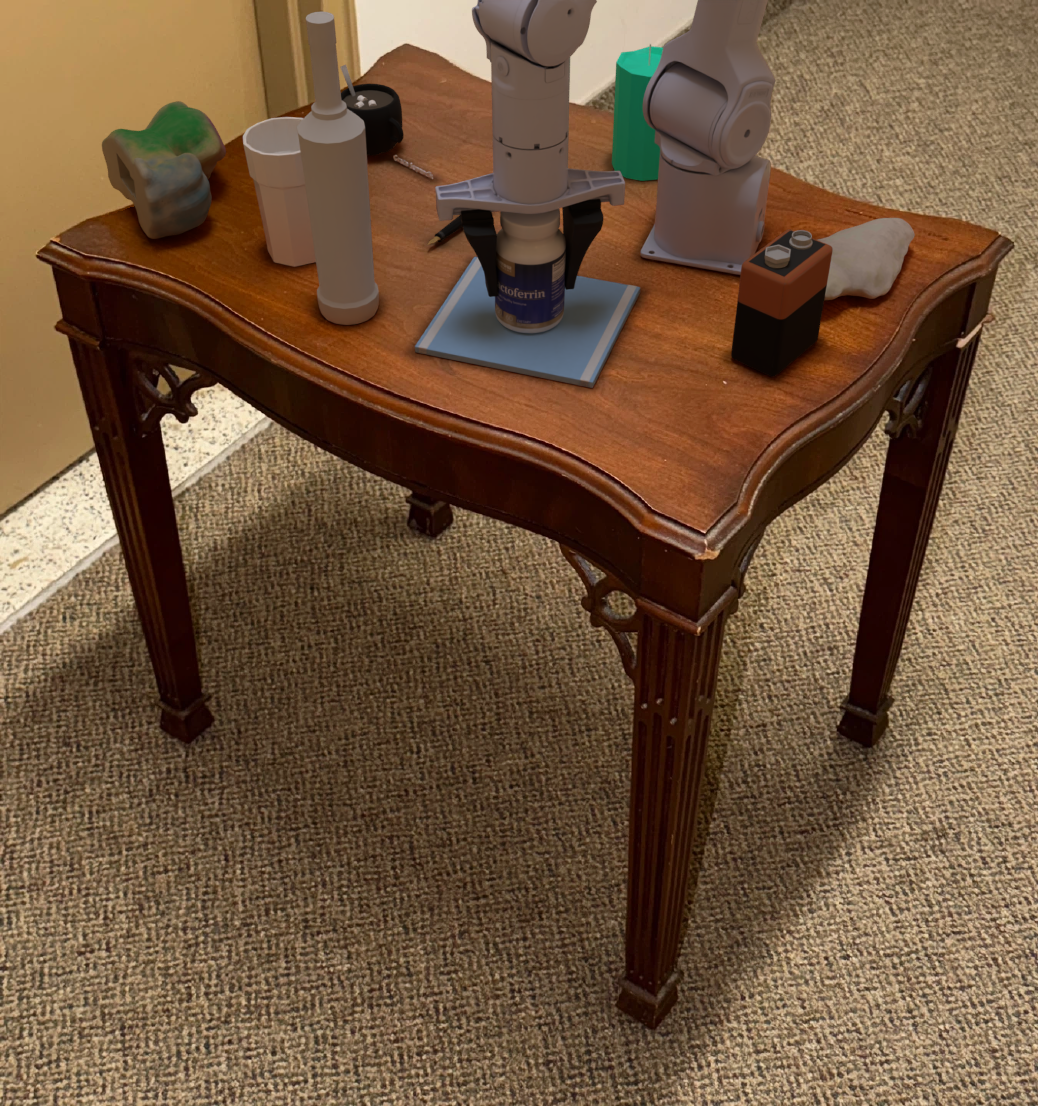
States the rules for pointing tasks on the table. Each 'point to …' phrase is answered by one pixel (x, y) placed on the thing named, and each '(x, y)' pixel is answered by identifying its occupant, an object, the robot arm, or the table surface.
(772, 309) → the battery
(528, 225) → the pill bottle
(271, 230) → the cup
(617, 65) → the candle
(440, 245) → the table surface
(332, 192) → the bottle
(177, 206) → the sculpture
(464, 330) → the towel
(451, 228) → the fountain pen
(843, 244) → the stone tool
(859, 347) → the table surface
